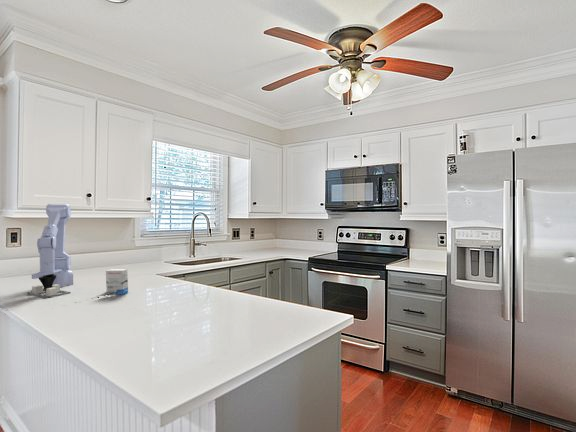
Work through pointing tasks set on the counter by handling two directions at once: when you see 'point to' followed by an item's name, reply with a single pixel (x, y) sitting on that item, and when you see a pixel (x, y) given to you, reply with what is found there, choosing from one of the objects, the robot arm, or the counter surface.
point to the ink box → (117, 281)
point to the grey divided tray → (49, 296)
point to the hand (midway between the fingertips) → (47, 291)
